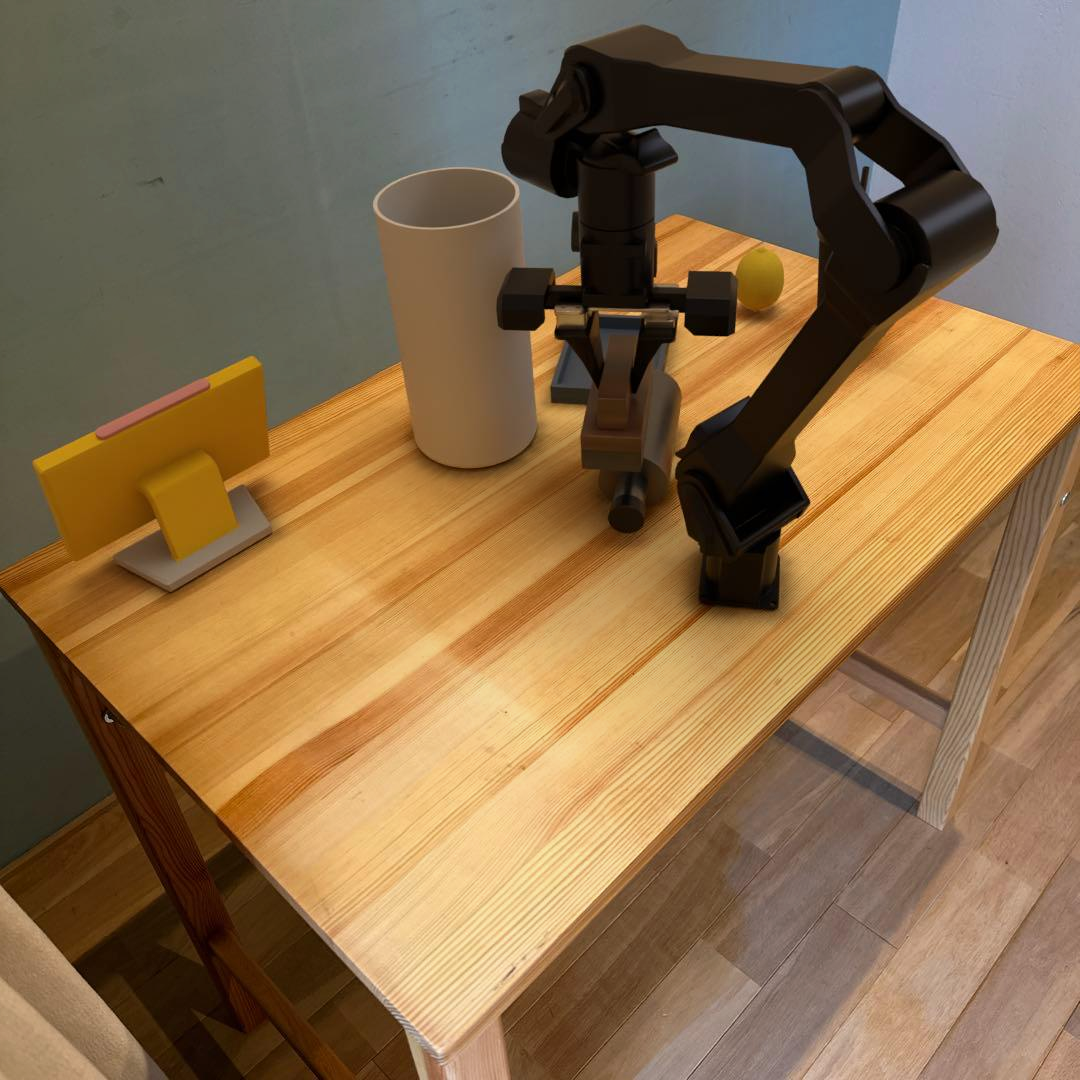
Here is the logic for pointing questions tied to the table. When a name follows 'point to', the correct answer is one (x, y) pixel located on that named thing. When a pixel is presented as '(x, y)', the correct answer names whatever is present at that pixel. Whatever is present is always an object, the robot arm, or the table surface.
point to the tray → (573, 375)
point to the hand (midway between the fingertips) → (618, 390)
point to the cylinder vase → (458, 312)
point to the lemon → (759, 279)
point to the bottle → (646, 461)
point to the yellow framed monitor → (166, 478)
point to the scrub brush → (617, 412)
